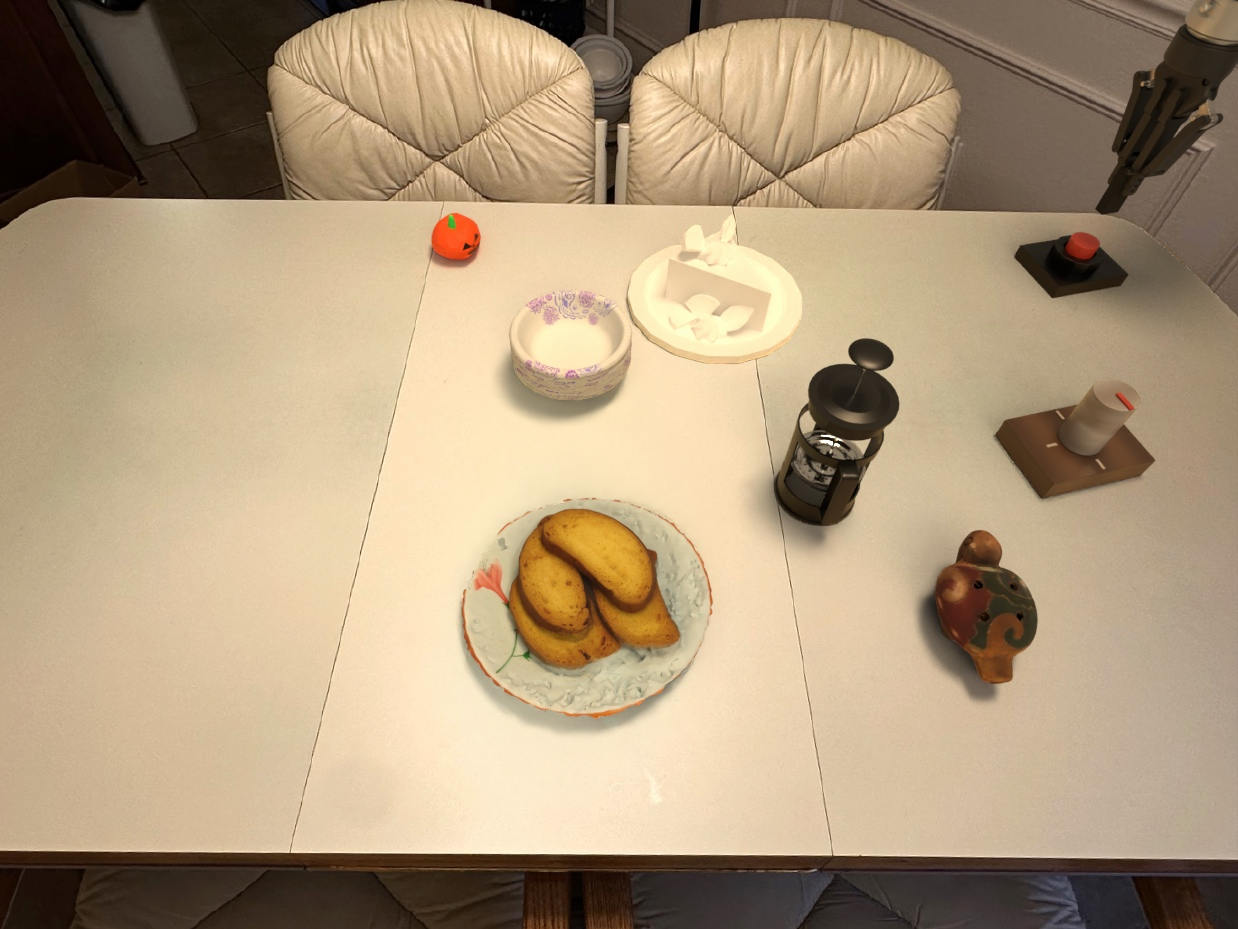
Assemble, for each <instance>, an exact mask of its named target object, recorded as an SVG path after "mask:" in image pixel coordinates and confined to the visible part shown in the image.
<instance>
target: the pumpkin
mask: <svg viewBox="0 0 1238 929" xmlns="http://www.w3.org/2000/svg"><path fill="white" fill-rule="evenodd" d="M481 238H482V237H481V232H480V229H479V226H478V224H477V223H476V221H474V219H472V218H470V217H468V216H466V215H464V214H461V213H459V212H453V213H449V214H447V215H445V216H444V217H442V218H441V219H439V220H438V222H436V224H435V225H434V227H433V230H432V233H431V238H430V239H431V246H432V249H433V251H435V253H437V254H438V255H440V256H441V257H444V258H447V259H449V260H466V259H468V258H471V257H472V256H473V254H474V253H475V252H476V251H477V250H478V249H479V247H480V243H481V240H482V239H481Z"/></svg>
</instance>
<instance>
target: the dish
mask: <svg viewBox="0 0 1238 929" xmlns="http://www.w3.org/2000/svg"><path fill="white" fill-rule="evenodd" d="M736 228H737V223H736V219H735V216H734V214H733V213H732V214H730V215H728V217H727V218H725V220H724V221H723V224H722V225H721V229H719V230H718V231H715V232H714V233H712V234H710V235H708V236H707V237H705V235H704V232H703V229H702V226H701V224H694V225H692V226H690V227H689V228H688V229H686V230H684V233H683V235H682V237H681V238H682V239H681V243H679V244H674V245H669V246H667V247H664V248H663V249H661V250H659V251H657V252H656V253H653V254H652V255H650V256H648V257H646V258H645V259H644V260H643V262H641V264H640V265H639V266H638V267H637V268H636V269H635V270H634V272H633V273H632V274H631V278H630V282H629V287H628V291H627V304H628V308H629V311H630V315H631V319H632V322H633V323H634V324H635V326H637V327H638V329H639V330H640V331H641V332H642V333H643V335H645V337H646V338H647V339H648V340H649V341H650V342H652V343H654V344H655V345H657V346H658V347H661V348H662V349H664V350H666V351H668V352H669V353H671V354H673V355H674V356H677V357H681V358H685V359H688V360H692V361H696V362H701V363H704V364H741V363H745V362H749V361H752V360H757V359H760V358H763V357H767V356H769V355H771V354H772V353H774V352H775V351H776V350H778V349H780V348H781V347H782V346H784V345H785V344H787V343H788V342H790V340H791V338H792V336H793V335H794V333H795V331H796V330H797V328H798V326H799V325H800V323H801V319H802V316H803V295H802V292H801V290H800V289H799V286H798V285H797V283H796V281H795V279H794V277H793V275H792V274H790V272H788V271H787V270H786V269H785V268H784V267H783V266H781V265H780V264H779V263H778V262H777V261H776V260H775V259H774V258H771V257H769V256H768V255H765V254H763V253H761V252H759V251H757V250H754V249H753V248H751V247H747V246H743V245H739V244H737V243H736V242H735V240H734V239H733V236H734V234H736Z"/></svg>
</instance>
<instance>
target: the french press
mask: <svg viewBox="0 0 1238 929" xmlns="http://www.w3.org/2000/svg"><path fill="white" fill-rule="evenodd" d="M847 353H848V357H849V358H850V360H851V361H852V362H853V363H835V364H831V365H828V366H826V367H823V368H821V369H819V370H818V371H817V372H816V373H815V374H814V375H813V376H812V377H811V379H810V381H809V384H808V387H807V398H808V402H807V403H805V405H804V406H803V407H802V408H801V409H800V411H799V414H798V417H797V419H796V421H795V422H796V423H795V428H794V430H793V433H792V437H791V439H790V442H789V445H788V448H787V451H786V455H785V457H784V460H783V461H782V464H781V467H780V470H779V471H778V472H777V474H776V476H775V478H774V483H773V492H774V496H775V499H776V501H777V502H778V505H779V506H780V507H781V508H782V510H783V511H784V512H785V513H786V514H788V516H790V517H791V518H792V519H795V520H796V521H798V522H800V521H801V522H800V523H803V524H806V525H810V526H816V527H825V526H826V527H827V526H832V525H838V523H840V522H842V521H843V520H844V519H846V518H847V517H848V516H849V515H850V514H851V512H852V511H853V508H854V506H855V503H856V498H857V496H858V493H859V491H860V489H861V483H862V481H863V479H864V476H865V474H866V473H867V470H868V469H869V466H870V465H871V463H872V461H873V460H875V458H876V457H877V455H878V454H879V452H880V450H881V447H882V446H883V444H884V440H885V429H886V428H887V427H888V426H889V425H891V424H892V423H893V421H894V420H895V419H896V418H897V416H898V413H899V411H900V405H901V404H900V397H899V395H898V392H897V390H896V388H895V387H894V386H893V384H892V383H891V382H890V381H889V380H888V379H887V378H886V377H884V376H883V375H882V374H880V373H879V372H880V371H884V370H887V369H889V368H890V367H891V366H892V365H893V363H894V361H895V356H894V353H893V350H892V349H891V348H890V347H889V346H888V345H887V344H886V343H884V342H882V341H880V340H878V339H874V338H868V337H865V338H858V339H856V340H854V341H852V342H851V343H850V344H849V346H848V349H847ZM807 412H809V415H810V417H811V418H812V420H813V422H814V426H813V429H812V430H810V431H806V432H804V433H803V431H802V429H801V421H800V420H801V419H802V417H803V416H804V415H805V413H807ZM866 440H869V441H868V445H867V447H866V449H865V451H864V453H863V451H862V450H861V449H860V447H859V446H858V445H857V444H856V443H855V442H856V441H857V442H859V441H860V442H861V441H866ZM793 473H794V474H795V475H796V476H797V478H798V479H799V480H800V481H801V482H803V484H806V485H807V486H809V487H810V488H811V489H815V490H817V491H820V492H823V493H824V495H823V498H822V500H821V502H820V504H819V506H818V505H815V504H811V503H809V502H807V501H804V500H802V498H799V497H798V496H797V495H796V494H795V493H794V492H793V491H792V490H791V489H790V488H789V487H788V484H787V481H788V479H789V477H790V476H791V475H792V474H793Z"/></svg>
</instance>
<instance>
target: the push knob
mask: <svg viewBox="0 0 1238 929" xmlns="http://www.w3.org/2000/svg"><path fill="white" fill-rule="evenodd" d="M1071 235H1072V236H1071V238H1070V239H1069V241H1068V242H1067V244H1066V246H1065V251H1066V252H1067V253H1068V254H1070V255H1072V256H1074V257H1076V258H1079V259H1085V260H1087V259H1091V258H1092V257H1093V255H1094V254H1095V252H1096V251H1097V249H1098V247H1099V246H1100V247H1101V242H1100V240H1099V238H1097V237H1096V236H1095V235H1093V234H1090V233H1088V232H1083V231H1078V232H1074V233H1072V234H1071Z"/></svg>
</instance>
